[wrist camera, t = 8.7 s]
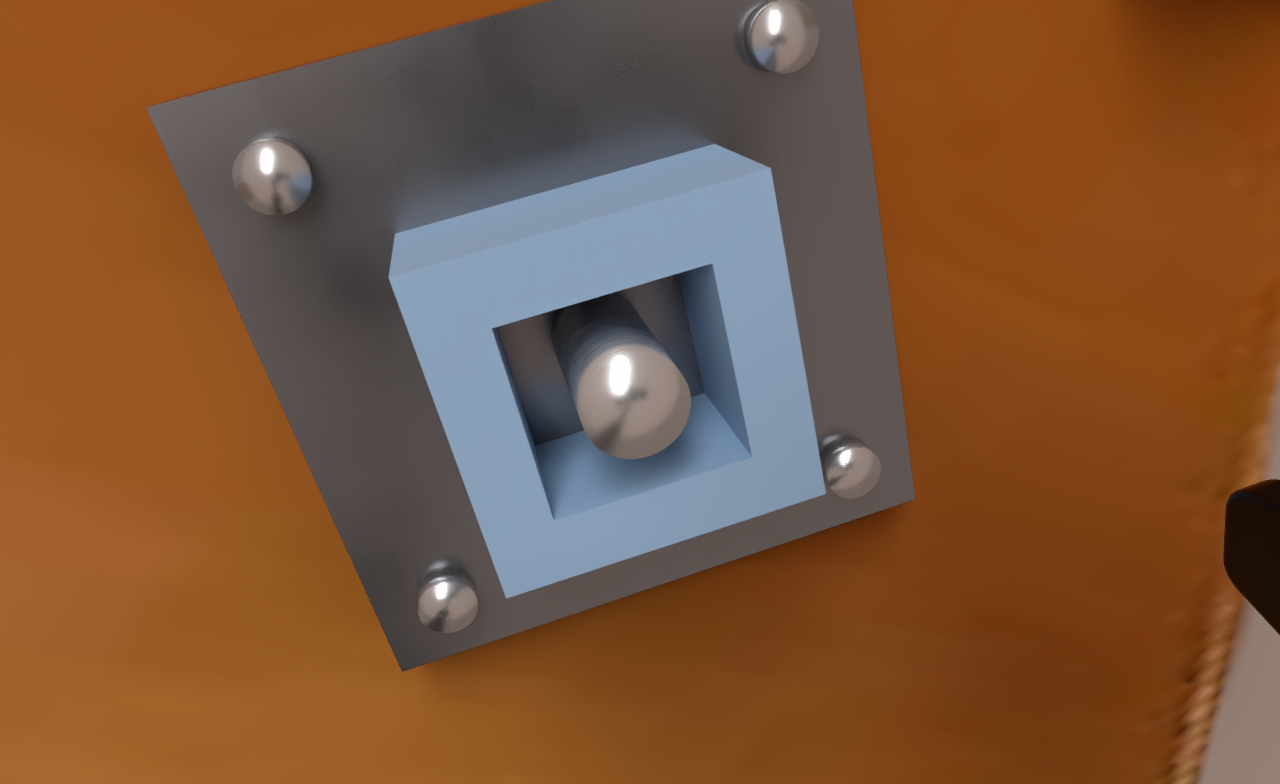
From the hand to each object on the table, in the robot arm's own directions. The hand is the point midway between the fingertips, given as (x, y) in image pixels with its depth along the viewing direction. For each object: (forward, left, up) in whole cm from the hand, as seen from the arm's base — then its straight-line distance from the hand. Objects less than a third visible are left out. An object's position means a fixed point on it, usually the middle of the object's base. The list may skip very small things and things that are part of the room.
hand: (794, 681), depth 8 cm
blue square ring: (0, 0, -10) cm, 10 cm away
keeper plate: (0, 0, -12) cm, 12 cm away
